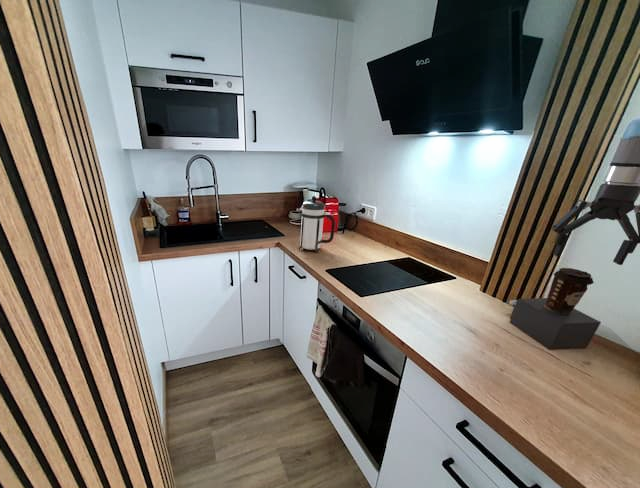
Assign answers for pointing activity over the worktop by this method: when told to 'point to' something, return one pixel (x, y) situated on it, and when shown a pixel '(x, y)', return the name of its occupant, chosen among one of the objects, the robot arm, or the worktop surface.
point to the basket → (514, 302)
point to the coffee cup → (567, 290)
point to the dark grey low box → (554, 325)
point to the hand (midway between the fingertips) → (585, 259)
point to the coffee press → (314, 225)
